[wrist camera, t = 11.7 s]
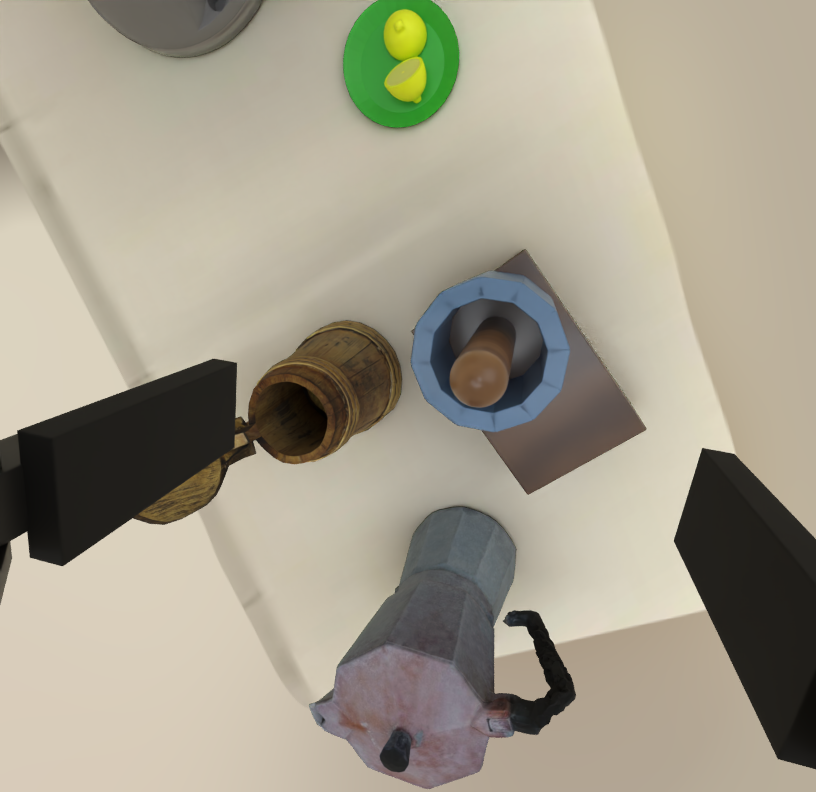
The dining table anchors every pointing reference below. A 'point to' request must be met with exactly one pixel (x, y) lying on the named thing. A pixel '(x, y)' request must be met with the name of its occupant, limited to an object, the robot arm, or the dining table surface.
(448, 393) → the blue faceted cup
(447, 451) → the dining table surface
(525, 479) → the peg box
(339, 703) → the moka pot
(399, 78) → the green plate
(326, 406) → the wooden mug
